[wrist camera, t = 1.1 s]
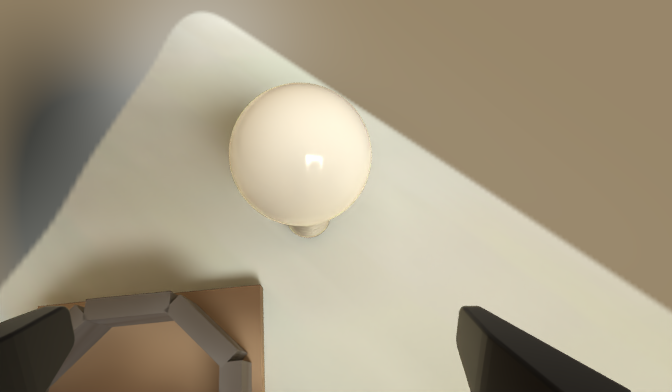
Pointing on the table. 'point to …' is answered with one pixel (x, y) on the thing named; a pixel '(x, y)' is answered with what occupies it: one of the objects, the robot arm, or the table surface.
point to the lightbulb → (300, 156)
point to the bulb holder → (167, 343)
